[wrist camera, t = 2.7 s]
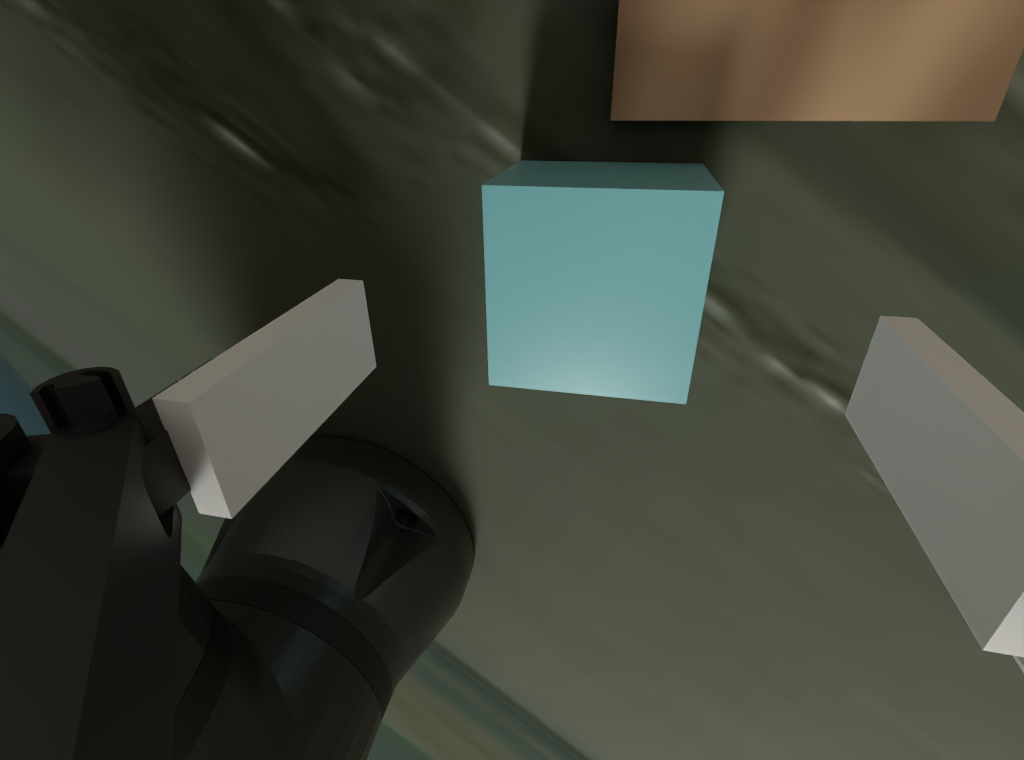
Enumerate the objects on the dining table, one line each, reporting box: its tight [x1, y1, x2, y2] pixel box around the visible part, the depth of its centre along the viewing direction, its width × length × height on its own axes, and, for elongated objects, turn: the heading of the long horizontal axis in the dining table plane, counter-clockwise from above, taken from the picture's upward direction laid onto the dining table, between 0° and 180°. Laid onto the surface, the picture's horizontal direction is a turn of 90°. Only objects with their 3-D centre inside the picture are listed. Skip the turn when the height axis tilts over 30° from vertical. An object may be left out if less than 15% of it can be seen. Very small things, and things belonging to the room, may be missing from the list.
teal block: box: [482, 161, 724, 404], centre depth 20 cm, size 7×7×6 cm
